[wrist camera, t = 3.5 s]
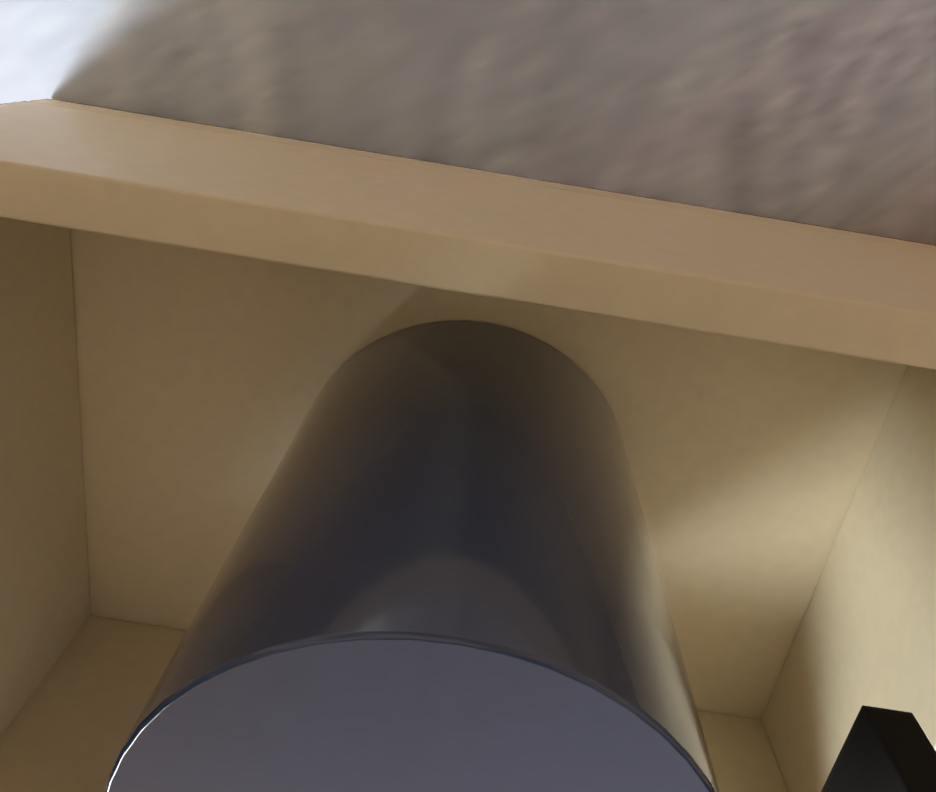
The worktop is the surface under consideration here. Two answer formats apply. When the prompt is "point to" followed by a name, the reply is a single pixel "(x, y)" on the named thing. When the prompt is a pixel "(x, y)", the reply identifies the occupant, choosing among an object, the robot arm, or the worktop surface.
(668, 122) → the worktop surface
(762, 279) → the cream wooden crate
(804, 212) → the worktop surface
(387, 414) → the dark grey cylinder
